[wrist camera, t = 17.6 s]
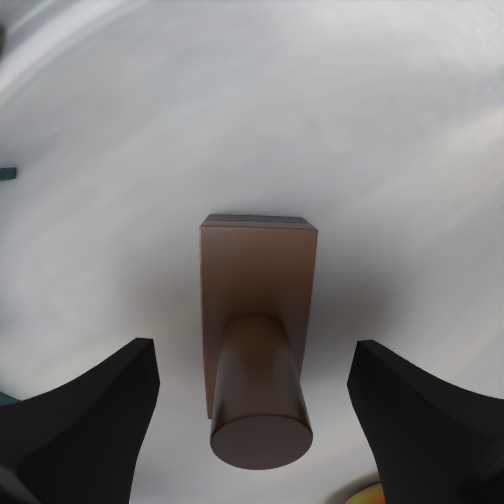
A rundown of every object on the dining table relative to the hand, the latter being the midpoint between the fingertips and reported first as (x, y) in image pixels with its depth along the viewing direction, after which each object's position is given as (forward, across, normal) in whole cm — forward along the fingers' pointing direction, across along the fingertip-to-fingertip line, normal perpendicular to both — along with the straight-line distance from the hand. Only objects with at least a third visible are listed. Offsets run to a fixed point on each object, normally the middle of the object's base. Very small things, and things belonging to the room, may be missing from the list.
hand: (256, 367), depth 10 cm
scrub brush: (+4, 0, 0) cm, 4 cm away
